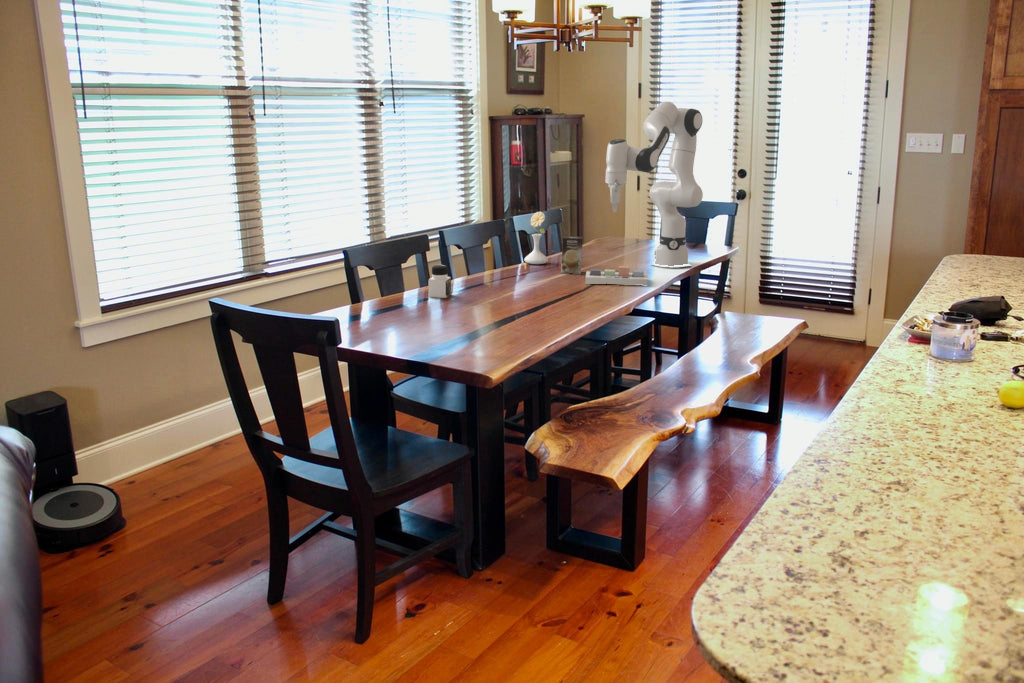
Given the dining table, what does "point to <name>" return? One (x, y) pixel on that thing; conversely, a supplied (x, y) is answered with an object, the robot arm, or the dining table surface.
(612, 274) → the key sage
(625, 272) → the key terracotta
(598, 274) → the key charcoal
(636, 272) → the key slate
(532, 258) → the flower in vase
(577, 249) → the coffee box
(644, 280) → the keypad
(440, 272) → the medicine bottle
